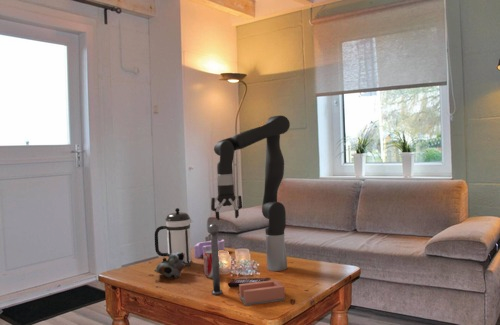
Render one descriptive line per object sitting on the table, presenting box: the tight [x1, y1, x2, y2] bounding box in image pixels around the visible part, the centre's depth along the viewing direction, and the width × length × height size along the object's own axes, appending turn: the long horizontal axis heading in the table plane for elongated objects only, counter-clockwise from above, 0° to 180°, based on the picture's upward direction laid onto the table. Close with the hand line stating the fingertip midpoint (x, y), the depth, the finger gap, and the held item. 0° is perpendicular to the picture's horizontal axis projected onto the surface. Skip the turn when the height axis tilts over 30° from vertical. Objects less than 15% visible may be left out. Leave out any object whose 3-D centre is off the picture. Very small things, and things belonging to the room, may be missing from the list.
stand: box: [208, 223, 223, 296], centre depth 181 cm, size 4×4×29 cm
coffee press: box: [154, 207, 194, 267], centre depth 230 cm, size 17×16×30 cm
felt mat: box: [238, 294, 286, 307], centre depth 174 cm, size 16×12×1 cm
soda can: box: [203, 250, 213, 279], centre depth 206 cm, size 7×7×12 cm
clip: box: [193, 238, 226, 259], centre depth 249 cm, size 20×12×7 cm, turn 146°
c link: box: [238, 279, 286, 303], centre depth 174 cm, size 16×10×4 cm, turn 104°
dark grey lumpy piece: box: [154, 252, 186, 280], centre depth 210 cm, size 15×12×14 cm
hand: (227, 218), depth 201 cm, fingers open, 8 cm apart
